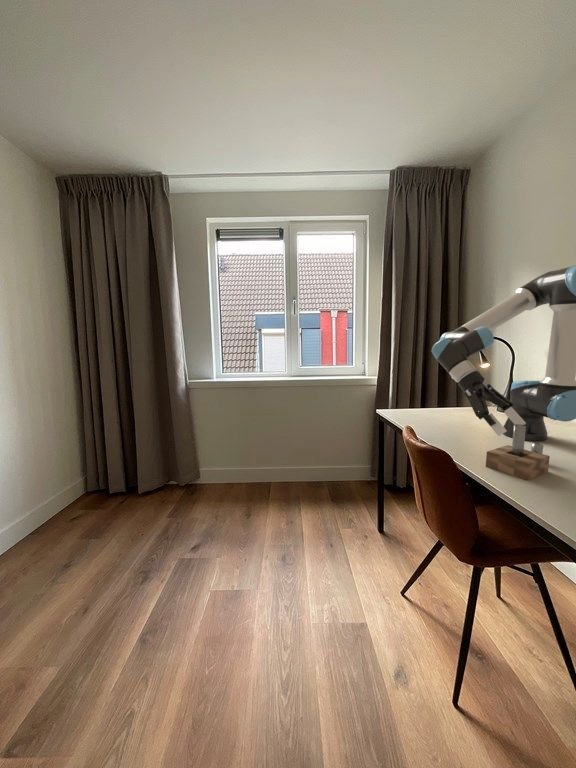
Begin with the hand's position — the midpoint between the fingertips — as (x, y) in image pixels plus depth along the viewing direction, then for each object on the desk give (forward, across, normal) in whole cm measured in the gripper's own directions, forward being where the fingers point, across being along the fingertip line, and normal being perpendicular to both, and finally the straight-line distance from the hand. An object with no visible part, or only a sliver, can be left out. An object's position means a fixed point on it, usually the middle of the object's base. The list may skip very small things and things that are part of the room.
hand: (512, 429), depth 103 cm
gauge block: (+10, 0, -8) cm, 12 cm away
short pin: (+11, -12, -7) cm, 18 cm away
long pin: (+10, 0, -8) cm, 12 cm away
